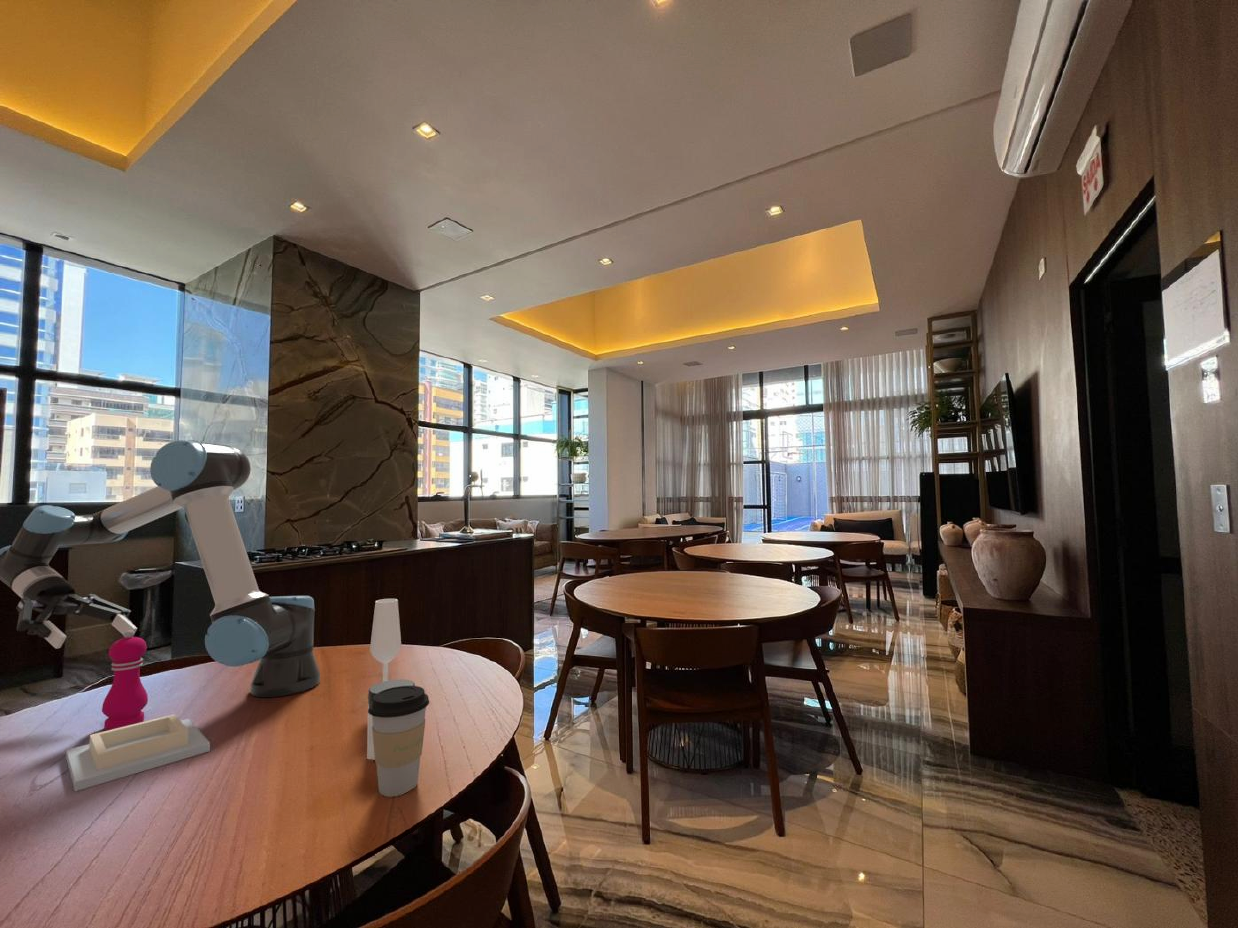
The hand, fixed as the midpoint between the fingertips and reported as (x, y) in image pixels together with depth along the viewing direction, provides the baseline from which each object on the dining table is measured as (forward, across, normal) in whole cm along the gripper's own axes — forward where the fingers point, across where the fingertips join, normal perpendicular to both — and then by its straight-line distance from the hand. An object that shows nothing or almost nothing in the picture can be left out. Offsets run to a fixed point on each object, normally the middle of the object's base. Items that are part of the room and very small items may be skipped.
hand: (99, 637), depth 117 cm
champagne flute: (+59, -21, +13) cm, 64 cm away
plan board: (+33, +9, -4) cm, 34 cm away
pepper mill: (+16, -1, -12) cm, 20 cm away
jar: (+74, -1, +19) cm, 76 cm away
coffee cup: (+82, +9, +22) cm, 85 cm away
